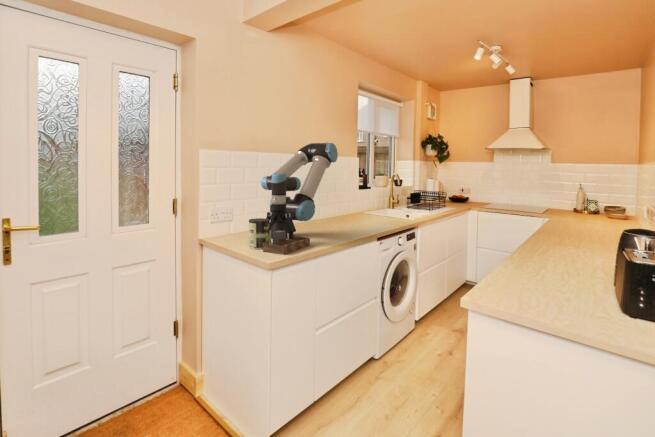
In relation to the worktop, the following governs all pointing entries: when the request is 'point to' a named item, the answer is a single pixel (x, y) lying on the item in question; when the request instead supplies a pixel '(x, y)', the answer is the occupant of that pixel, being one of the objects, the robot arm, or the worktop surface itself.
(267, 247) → the comb rack
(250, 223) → the coffee can
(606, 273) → the worktop surface
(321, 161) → the robot arm
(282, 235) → the grey block
